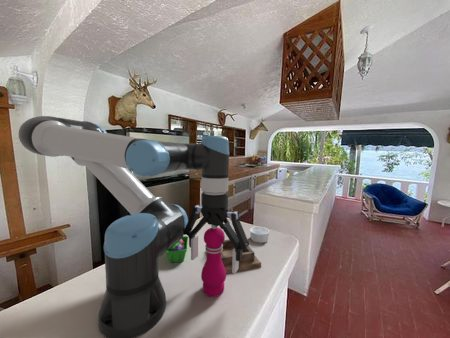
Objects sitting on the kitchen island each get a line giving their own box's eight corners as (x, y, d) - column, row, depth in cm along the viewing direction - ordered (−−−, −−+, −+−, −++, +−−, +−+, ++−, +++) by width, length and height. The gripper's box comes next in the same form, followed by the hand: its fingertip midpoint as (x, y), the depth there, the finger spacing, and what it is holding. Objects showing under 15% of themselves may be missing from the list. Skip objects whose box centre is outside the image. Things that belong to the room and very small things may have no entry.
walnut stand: (217, 274, 64) (217, 261, 64) (206, 251, 80) (206, 240, 79) (261, 266, 69) (261, 254, 69) (242, 245, 85) (243, 235, 84)
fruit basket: (187, 263, 71) (187, 233, 70) (161, 265, 69) (161, 234, 68) (188, 247, 82) (188, 221, 81) (166, 249, 81) (165, 222, 80)
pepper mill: (230, 286, 59) (231, 222, 57) (216, 302, 53) (217, 230, 51) (210, 278, 63) (211, 217, 61) (195, 291, 57) (196, 224, 55)
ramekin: (269, 244, 86) (269, 235, 86) (248, 242, 88) (249, 233, 88) (268, 236, 95) (269, 227, 95) (250, 234, 97) (250, 225, 96)
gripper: (262, 194, 53) (259, 269, 55) (187, 185, 64) (187, 248, 66) (253, 200, 46) (250, 285, 48) (171, 189, 57) (171, 259, 59)
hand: (213, 264), depth 57 cm, fingers open, 13 cm apart
